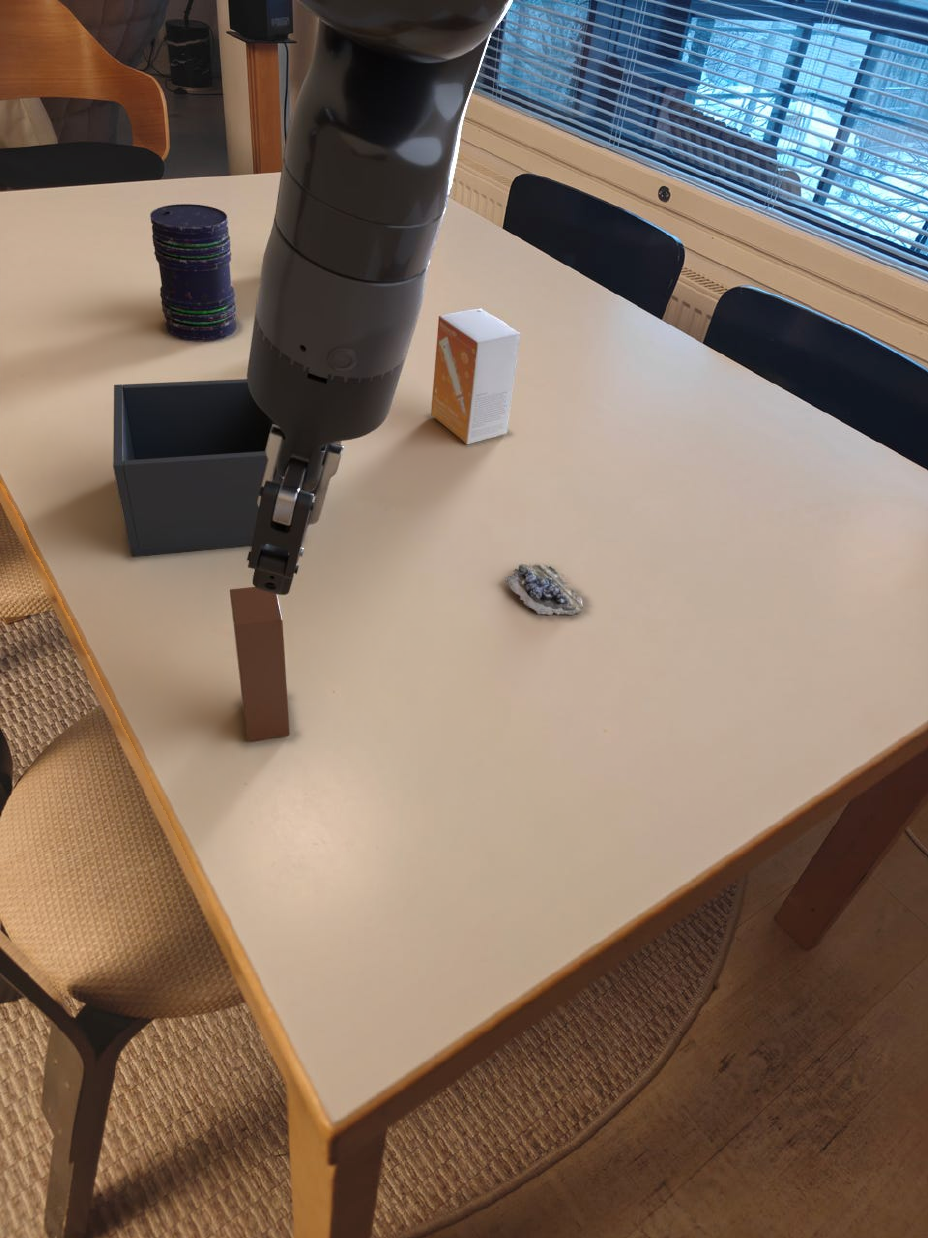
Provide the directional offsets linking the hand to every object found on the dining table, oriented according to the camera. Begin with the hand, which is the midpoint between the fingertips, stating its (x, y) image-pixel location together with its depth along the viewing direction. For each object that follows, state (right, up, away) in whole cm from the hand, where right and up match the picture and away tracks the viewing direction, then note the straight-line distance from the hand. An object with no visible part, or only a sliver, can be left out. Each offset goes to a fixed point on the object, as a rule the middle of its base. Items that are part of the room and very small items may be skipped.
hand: (287, 536), depth 54 cm
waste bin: (-15, +7, +35) cm, 39 cm away
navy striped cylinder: (-26, +36, +68) cm, 81 cm away
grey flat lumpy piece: (+19, -3, +29) cm, 35 cm away
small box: (+12, +19, +53) cm, 58 cm away
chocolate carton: (-5, -13, +14) cm, 20 cm away
